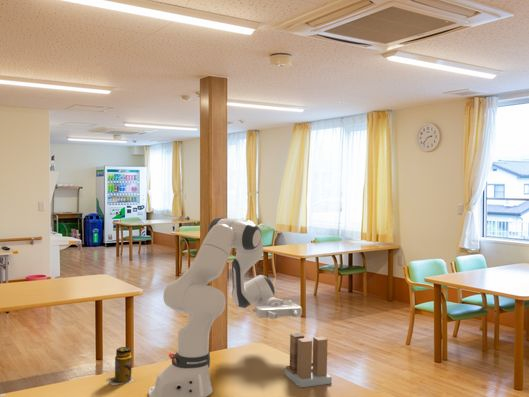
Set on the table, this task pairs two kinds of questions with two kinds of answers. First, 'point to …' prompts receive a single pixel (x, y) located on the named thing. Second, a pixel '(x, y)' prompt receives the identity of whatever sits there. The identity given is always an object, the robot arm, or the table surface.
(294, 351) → the stool leg
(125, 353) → the condiment
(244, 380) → the table surface
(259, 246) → the robot arm
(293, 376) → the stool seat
